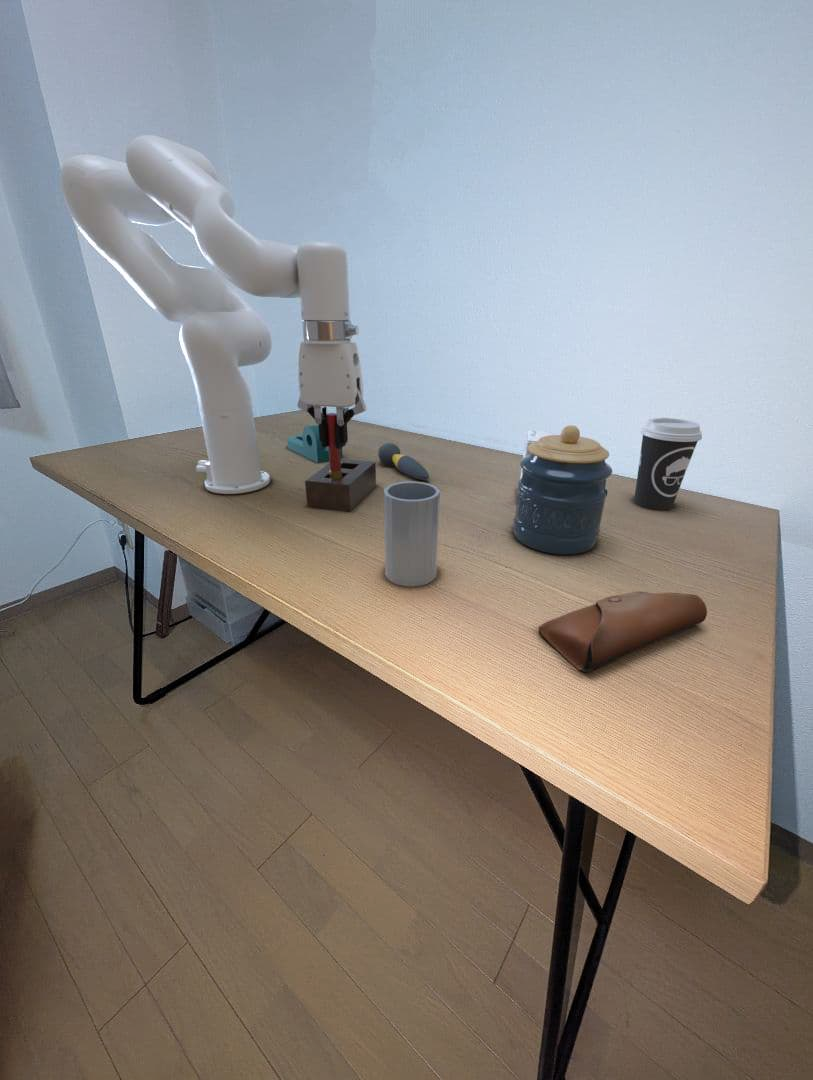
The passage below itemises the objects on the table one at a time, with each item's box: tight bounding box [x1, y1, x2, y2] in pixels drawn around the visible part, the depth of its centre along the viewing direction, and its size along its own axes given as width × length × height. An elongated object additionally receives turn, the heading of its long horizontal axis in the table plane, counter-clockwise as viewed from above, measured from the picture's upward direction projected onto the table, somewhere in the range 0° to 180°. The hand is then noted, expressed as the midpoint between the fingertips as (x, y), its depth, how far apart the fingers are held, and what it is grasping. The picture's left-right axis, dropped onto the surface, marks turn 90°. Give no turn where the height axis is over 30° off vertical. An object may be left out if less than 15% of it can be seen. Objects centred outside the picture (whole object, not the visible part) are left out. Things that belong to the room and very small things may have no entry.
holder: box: [304, 458, 377, 512], centre depth 90 cm, size 8×14×5 cm, turn 165°
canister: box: [512, 424, 613, 555], centre depth 71 cm, size 13×13×18 cm
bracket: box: [286, 424, 344, 464], centre depth 116 cm, size 18×7×8 cm, turn 39°
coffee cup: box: [633, 417, 703, 511], centre depth 84 cm, size 10×10×15 cm
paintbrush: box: [377, 442, 430, 481], centre depth 103 cm, size 20×5×5 cm, turn 38°
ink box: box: [519, 430, 554, 480], centre depth 88 cm, size 9×5×12 cm, turn 167°
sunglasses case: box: [538, 591, 708, 673], centre depth 52 cm, size 18×7×7 cm
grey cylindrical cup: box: [383, 481, 441, 588], centre depth 62 cm, size 7×7×12 cm
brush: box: [326, 412, 342, 479], centre depth 85 cm, size 3×3×16 cm
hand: (334, 445), depth 83 cm, fingers closed on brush, 2 cm apart
